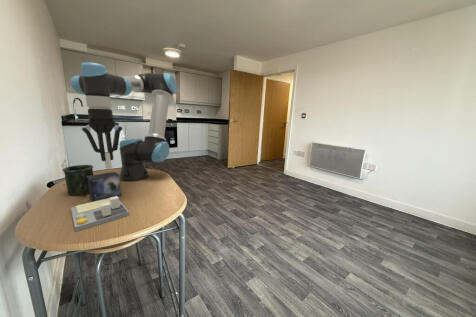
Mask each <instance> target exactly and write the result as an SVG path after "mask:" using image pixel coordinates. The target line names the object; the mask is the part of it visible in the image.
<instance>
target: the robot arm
mask: <svg viewBox="0 0 476 317" xmlns="http://www.w3.org/2000/svg"><path fill="white" fill-rule="evenodd" d="M80 71H81V72H80V75H75V76H72V77H71V80H70V84H71V87H72V89H73V91H75V92H76V93H77V94H79V95H85V102H86V107H87V108H88V109H87V114H88V123H87V125H85V126H83V127H81V131H82V132H84V133H85V135H86V137H87V139H88V142H89V143H90V145H91V147H92V149H93V151H94V152H95V153H99V155H100V160H101V161H102V162H104V165H105V169H107V170H112V168H113V167H112V161H113V160H114V152H116V151H118V149H119V154H120V155H119V156H120V163H121V167H120V172H119V178H120V181H123V182H133V181H134V182H136V181H140V180H141V181H142V180H144V179H148V177H149V172H148V170H147V168H146V165H145V162H154V163H158V162H159V163H162V162H164V161H166V159H167V158H168V157H169V154H170V145H169V143H168V142H167V139H166V138H165V134H166V133H165V132H166V128H167V127H166V125H167V118H168V110H169V103H170V101H171V99H173V95H175V94H177V92H178V86H177V81H176V78H175V76H174V75H173V74H172V73H169V72H163V73H160V72H158V73H156V72H153V73H151V72H148V73H140V74H130V76H129V75H128V76H125V75H124V76H123V75H122V76H119V75H115V74H111V73H108V71H107V66H105V65H103V64H101V63H96V62H82V63H81V64H80ZM132 92H135V93H144V94H152V96H153V100H152V107H151V112H150V120H149V127H148V134H147V135H145V136H144V140H143V138H142V137H141V138H140V137H139V138H130V139H122V140H120V135H121V131H122V129H123V127H122V126H119V125H117V124H116V122H115V121H114V114H113V110H112V109H111V108H112V107H113V106H112V100H111V95H112V96H113V95H114V96H116V95H117V96H129V95H130V94H131V93H132ZM91 129H92V130H93V131H94V132H95V133H96V136H97V142H98V145H97V143H96V141H95V138H94V137H93V135H92V132H91V131H92V130H91ZM113 129H114V135H113V141H112V136H111V132H113ZM104 135H105V141H106V149H105V145H104V144H105V142H104V137H103V136H104ZM112 142H113V143H112ZM106 150H107V151H106Z"/></svg>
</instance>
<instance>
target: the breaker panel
mask: <svg viewBox="0 0 476 317" xmlns="http://www.w3.org/2000/svg"><path fill="white" fill-rule="evenodd" d="M107 202H109V203H110V198H107V199H103V200H99V201H94V202H92V201H91V202H86V203H83V204H82V203H81V204H78V205H76V206H73V207H72V206H71V207H70V210H71V216H72V221H73V226H74V230H75V232H79V231H82V230H85V229H88V228H89V229H90V228H93V227H95V226H98V225H99V226H100V225H102V224H105V223H109V222H113V221H115V220H118V219H121V218H122V219H123V218H126V217H129V216H130V212H129V210H128V209H127V207H126V206H125V205H124V203H123V202H122V201H121V200H120V199H119V206H120V207H119V208H115V209H112V208H111V215H107V216H104V217H103V215H102V212H101V205H100V204H103V203H107ZM110 207H111V205H110Z"/></svg>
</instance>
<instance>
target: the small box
mask: <svg viewBox="0 0 476 317" xmlns="http://www.w3.org/2000/svg"><path fill="white" fill-rule="evenodd" d="M119 175H120V173H117V172H116V171H111V172H106V173H105V172H103V173H100V174H93V175H92V176H87V179H88V186H89V193H88V194H89V199H90V200H91V202H94V201H99V200H103V199H107V198H111V197H115V196H117V197H118V198H119V197H121V196H122V190H121V188H122V187H121V180H120V178H119Z"/></svg>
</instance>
